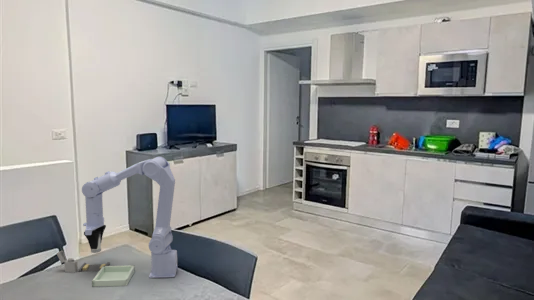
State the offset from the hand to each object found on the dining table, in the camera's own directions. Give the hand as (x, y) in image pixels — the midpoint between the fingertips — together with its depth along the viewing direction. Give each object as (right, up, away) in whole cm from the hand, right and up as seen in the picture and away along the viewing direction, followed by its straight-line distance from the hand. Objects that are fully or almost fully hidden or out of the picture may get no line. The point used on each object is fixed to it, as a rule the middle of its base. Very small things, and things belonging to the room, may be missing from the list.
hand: (95, 246), depth 140 cm
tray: (+9, -10, -6) cm, 15 cm away
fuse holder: (-1, -9, +2) cm, 9 cm away
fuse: (0, -2, 0) cm, 2 cm away
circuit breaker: (-10, -10, -1) cm, 14 cm away
